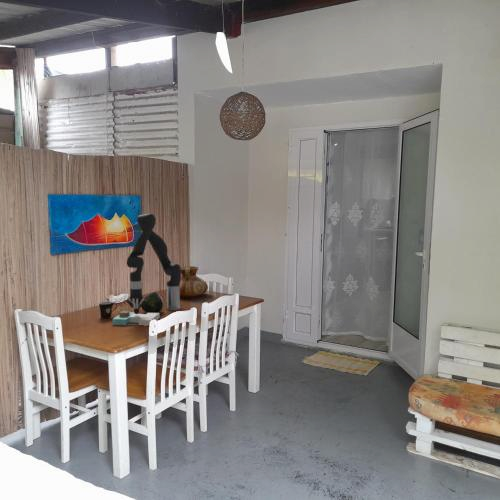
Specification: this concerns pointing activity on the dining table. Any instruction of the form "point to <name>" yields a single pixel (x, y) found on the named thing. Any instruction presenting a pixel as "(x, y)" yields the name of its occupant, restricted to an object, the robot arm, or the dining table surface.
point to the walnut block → (124, 313)
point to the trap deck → (136, 319)
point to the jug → (191, 283)
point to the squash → (152, 303)
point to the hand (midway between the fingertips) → (136, 313)
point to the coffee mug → (106, 309)
